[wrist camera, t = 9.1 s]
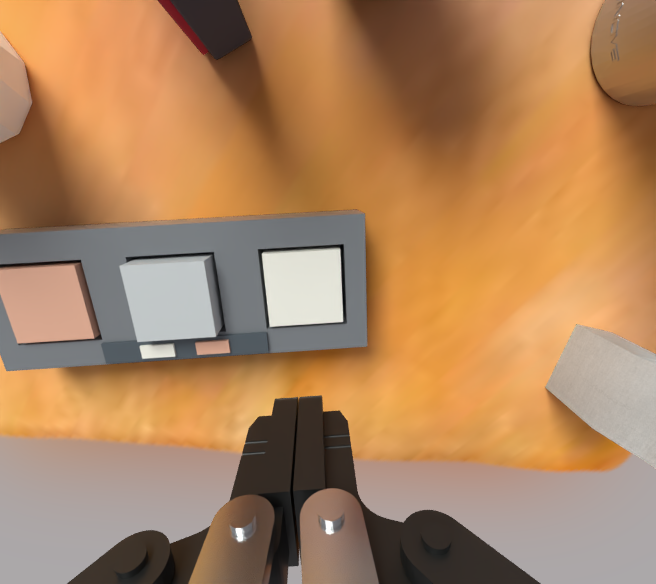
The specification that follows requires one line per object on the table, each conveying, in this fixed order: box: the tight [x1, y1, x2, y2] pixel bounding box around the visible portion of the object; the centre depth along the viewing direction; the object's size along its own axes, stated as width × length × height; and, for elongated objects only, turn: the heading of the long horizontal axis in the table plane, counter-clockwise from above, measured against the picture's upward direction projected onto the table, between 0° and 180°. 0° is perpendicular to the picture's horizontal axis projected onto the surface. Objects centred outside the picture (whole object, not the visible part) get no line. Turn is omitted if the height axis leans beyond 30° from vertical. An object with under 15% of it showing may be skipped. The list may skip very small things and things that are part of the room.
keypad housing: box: [0, 210, 367, 371], centre depth 26 cm, size 27×10×4 cm, turn 93°
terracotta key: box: [0, 260, 101, 343], centre depth 25 cm, size 5×5×3 cm
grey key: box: [119, 252, 225, 342], centre depth 25 cm, size 5×5×3 cm
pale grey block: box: [545, 324, 656, 469], centre depth 28 cm, size 4×7×10 cm, turn 166°
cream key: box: [262, 244, 343, 327], centre depth 26 cm, size 5×5×3 cm
